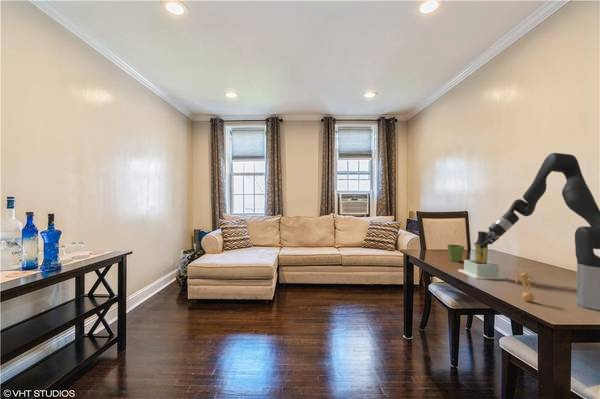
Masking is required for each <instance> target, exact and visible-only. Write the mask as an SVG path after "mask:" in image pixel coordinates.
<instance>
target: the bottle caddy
mask: <svg viewBox="0 0 600 399" xmlns="http://www.w3.org/2000/svg"><path fill="white" fill-rule="evenodd" d="M457 271H458V272H459V273H461V274H464V275H467V276H468V277H471V278H473V279H475V280H507V277H505V276H503V275H500V264H497V263H494V262H491V261H488V260H487V264H476V263H475V259H464V260H463V269H461V268H460V269H457Z"/></svg>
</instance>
